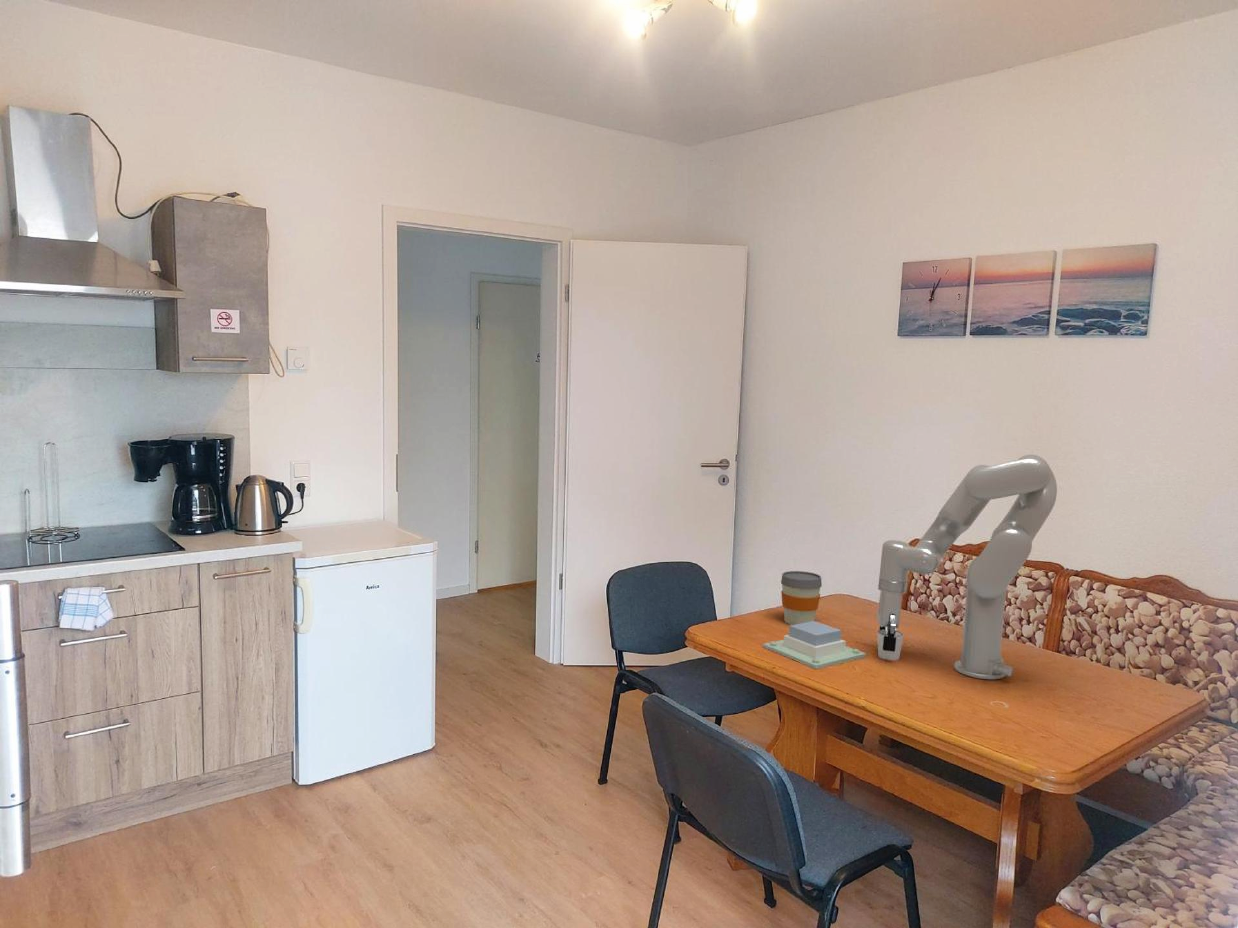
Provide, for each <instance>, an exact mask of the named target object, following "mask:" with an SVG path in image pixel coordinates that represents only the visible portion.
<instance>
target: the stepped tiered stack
mask: <svg viewBox="0 0 1238 928" xmlns="http://www.w3.org/2000/svg"><path fill="white" fill-rule="evenodd" d="M841 638H842V630H841V629H839V628H835V627H834V626H830V625H827V624H824V623H822V622H820V621H819V622H818V621H816V620H814V621H811V622H806V623H801V624H796V625H791V624H790V625H789V633H788V634H784V635H783V639H780V640H776V641H774V640H771V641H770V642H766V643H763V645H762V648H763V647H764V648H763V649H766V650H768V649H769V650H768V651H771V650H772V651H771V652H773V651H774V652H773V653H775V652H777V653H776V654H777V655H780V654H781V656H783V657H785V656H786V657H785V658H788V659H790V660H792V659H794V660H793V661H795V660H796V661H795V662H797V661H798V662H797V663H801V664H802V665H805V666H807V667H809V668H812V669H814V670H819V669H822V668H826V667H830V666H834V665H839V664H842V663H846V662H851V661H855V659H856V660H859V659H864V658H866V657H867V652H863V651H860V649H859V648H852V647H849V646H847V645H846V643H847V641H846V640H844V639H841Z"/></svg>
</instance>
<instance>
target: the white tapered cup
mask: <svg viewBox="0 0 1238 928" xmlns="http://www.w3.org/2000/svg"><path fill="white" fill-rule="evenodd" d="M888 630H889V629H888ZM884 636H885V629H881V630H877V651H878V652H877V656H878V657H879V658H880V659H883V660H886V659H887V660H886V661H898V660H900V656H901V650H902V645H903V640H904V639H903V638H904V633H903V632H902V631H898V630H896V646H895V651H894V652H893V651H884V650H883V640H884Z"/></svg>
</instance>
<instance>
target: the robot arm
mask: <svg viewBox="0 0 1238 928" xmlns="http://www.w3.org/2000/svg"><path fill="white" fill-rule="evenodd" d="M1057 485H1058V484H1057V480H1056V476H1055V474H1054V473H1053V470H1052V469H1051V467H1050V465H1049V464H1048V462H1047V461H1046V460H1045V459H1044V458H1042V456H1039V455H1037V454H1026V455H1023V456H1021V457H1019V458H1018V459H1017V460H1013V461H1008V462H1004V463H998V464H993V465H987V464H978V465H976V466H973V467H972V468H971V469H970V470H969V471H968V472H967V474H966V475H965V476H964V477H963V479H962V480H961V482H959V485H958V486H957V487H956V489H954V491H953V493H952V494H951V495H950V497H949V498H948V499H947V501H945V503H944V505H943V506H941V509H940V510H939V512H938V514H937V516H936V518H935V519H934V520H933V522H932V524H931V525H930V526H929V528H928V529H927V531H926V532H925V533H924V535H922V537H921V538H920V539H919V541H918V542H917V544H916V545H915V546H911V545H910V544H909V543H908V542H905V541H902V540H895V539H894V540H893V539H892V540H891V539H890V540H885V541H884V542H883V544H882V549H881V555H880V556H881V558H880V568H879V576H878V577H879V578H878V585H877V586H878V587H877V589H878V590H879V591H880V594H879V601H878V608H877V615H876V620H877V623H878V625H879V630H881V629H885V636H884V640H883V650H884V651H893V652H894V651H895V646H896V631H897V629H899V627H900V622H901V611H902V602H903V601H902V600H903V599H902V598H903V595H905V594H907V590H908V582H909V573H910V572H913V573H915V574H919V575H931V574H933V573H934V572H935V571H936V570H937V569H938V567H939V565H940V562H941V560H942V559H943V558H944V556H945V555H946V553H947V552H948V551H949V549H950V548H951V547H952V545H954V543H955V542H956V541H957V540H958V538H960V536H961V535H962V534H963V533H965V532H967V530H969V528H970V527H971V526H973V524H974V522H975V521H976V520H977V518H978V517H979V516H980V515H981V513H982V512H983V511H984V509H985V508H986V507H987V505H988V504H989V503H990V501H991V500H996V499H1004V498H1007V497H1012V496H1017V497H1016V499H1015V501H1014V502H1013V504H1012V506H1011V507H1010V508H1009V511H1008V512H1007V513H1006V515H1005V516H1004V518H1003V519H1002V521H1001V522H999V524H998V525H997V527H995V529H994V530H993V531H992V534H991V537H990V540H989V541H987V542H988V543H987V544H986V546H985V547H984V548H983V550H982V552H980V555H978V556H976V557H975V558H974V559H972V560H971V562H970V563H969V565H968V568H967V573H966V583H967V584H966V595H965V607H964V617H963V629H962V630H963V631H962V643H961V644H962V645H961V654H960V655H961V656H960V657H961V659H959V660H956V661H955V662H954V665H953V667H954V669H955V671H956V672H958V673H960V674H961V675H965V676H968V677H971V678H975V679H983V680H999V679H1003V678H1005V676H1007V677H1011V676H1012V674H1013V670H1014V669H1013V668H1014V667H1012V666H1009V665H1006V664H1005V658H1003V657H1001V654H1002V643H1003V641H1002V640H1003V628H1004V618H1005V607H1006V595H1007V588H1008V587H1009V586H1010V584H1011V582H1012V581H1013V580H1014V578H1015V577H1016V576H1017V574H1018V572H1020V570H1021V568H1022V567H1023V566H1024V564H1026V561H1027V560H1028V558H1029V556H1030V554H1031V552H1032V549H1033V544H1032V543H1033V540H1034V539H1035V537H1036V535H1037V534H1038V533H1039V532H1040V529H1041V528H1042V526H1044V524H1045V522H1046V520H1047V519H1048V517H1049V516H1050V514H1051V512H1052V510H1053V508H1054V506H1055V503H1056V501H1057V494H1058V487H1057ZM888 629H889V630H888Z"/></svg>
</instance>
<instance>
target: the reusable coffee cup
mask: <svg viewBox="0 0 1238 928" xmlns="http://www.w3.org/2000/svg"><path fill="white" fill-rule="evenodd" d="M780 583H781V588H782V590H781V605H782V607H783V615H784V622H785V624H787V625H788V624H789V625H790V626H791V625H796V624H801V623H806V622H811V621H815V617H816V616H815V615H816V612H817V610H818V609H819V605H820V603H819V602H820V597H821V594H820V591H821V588H822V587H823V586H822V585H823V584H822V583H823V582H822V576H821V575H820V574H817V573H813V572H809V571H799V570H791V571H785V572H783V573H782V574H781V580H780Z"/></svg>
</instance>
